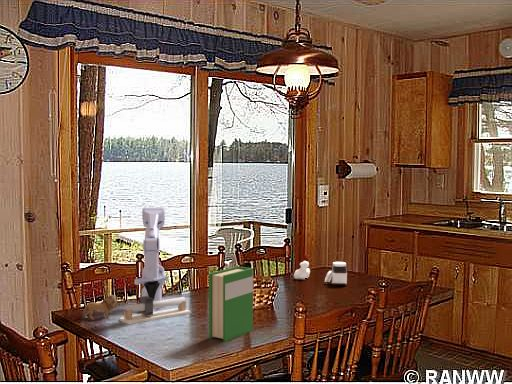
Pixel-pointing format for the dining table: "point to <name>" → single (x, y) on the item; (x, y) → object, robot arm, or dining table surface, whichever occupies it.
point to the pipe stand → (156, 315)
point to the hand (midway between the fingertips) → (151, 299)
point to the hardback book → (230, 302)
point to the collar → (147, 305)
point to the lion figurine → (100, 307)
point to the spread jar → (337, 274)
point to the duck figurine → (302, 271)
